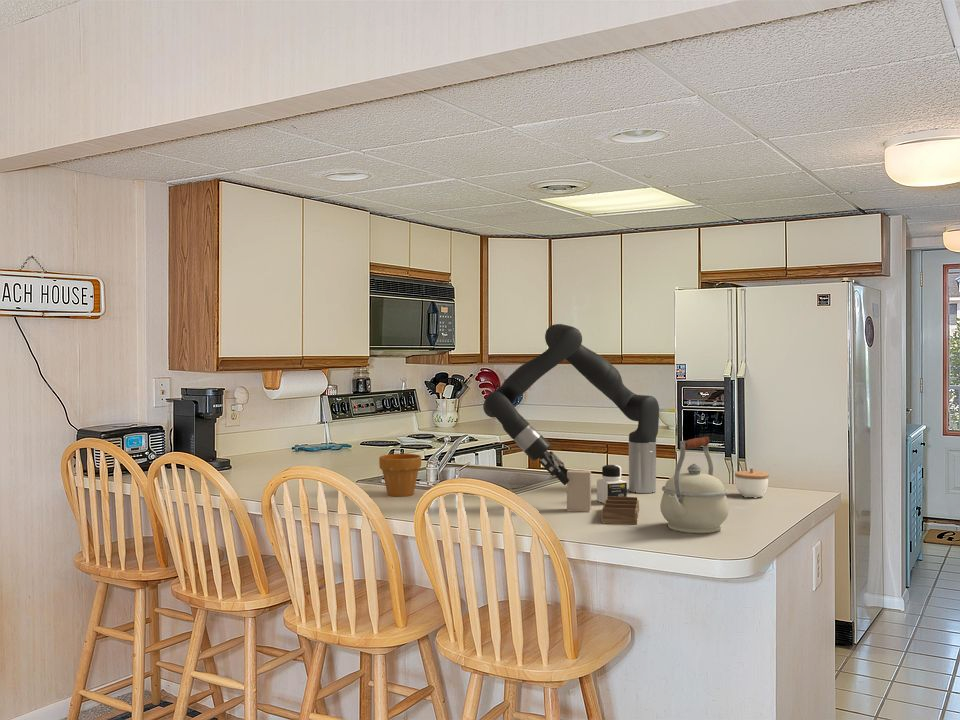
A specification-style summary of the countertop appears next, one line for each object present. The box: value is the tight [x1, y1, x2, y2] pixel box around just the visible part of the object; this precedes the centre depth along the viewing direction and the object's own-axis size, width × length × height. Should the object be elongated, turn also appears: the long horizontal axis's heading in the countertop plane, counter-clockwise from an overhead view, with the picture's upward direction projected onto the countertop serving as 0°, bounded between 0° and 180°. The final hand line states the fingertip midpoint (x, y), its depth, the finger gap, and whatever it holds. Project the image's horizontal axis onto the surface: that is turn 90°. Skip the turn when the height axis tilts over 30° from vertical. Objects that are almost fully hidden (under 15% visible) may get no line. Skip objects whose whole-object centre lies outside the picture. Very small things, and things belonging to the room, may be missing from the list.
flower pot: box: [378, 453, 422, 498], centre depth 290 cm, size 14×14×13 cm
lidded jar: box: [734, 467, 769, 498], centre depth 286 cm, size 11×11×9 cm
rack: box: [600, 496, 640, 525], centre depth 253 cm, size 20×10×4 cm, turn 168°
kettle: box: [659, 436, 730, 534], centre depth 235 cm, size 25×18×25 cm
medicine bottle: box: [596, 464, 628, 504], centre depth 275 cm, size 7×7×12 cm
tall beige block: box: [566, 469, 592, 512], centre depth 262 cm, size 4×7×12 cm, turn 78°
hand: (568, 480), depth 263 cm, fingers open, 8 cm apart
